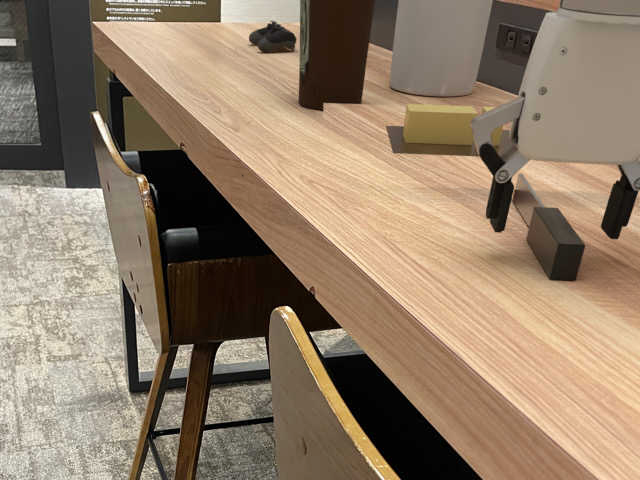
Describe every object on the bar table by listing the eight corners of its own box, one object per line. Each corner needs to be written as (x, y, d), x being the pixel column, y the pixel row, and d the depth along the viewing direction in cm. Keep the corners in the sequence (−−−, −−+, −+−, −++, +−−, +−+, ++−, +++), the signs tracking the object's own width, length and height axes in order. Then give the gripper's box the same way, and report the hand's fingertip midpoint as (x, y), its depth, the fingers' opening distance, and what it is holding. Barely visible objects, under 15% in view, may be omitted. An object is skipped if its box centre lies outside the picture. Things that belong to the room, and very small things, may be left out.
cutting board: (524, 143, 106) (526, 130, 105) (547, 172, 95) (550, 158, 94) (384, 137, 107) (385, 125, 106) (391, 166, 96) (393, 152, 95)
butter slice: (493, 138, 101) (499, 107, 99) (499, 146, 98) (505, 114, 96) (477, 137, 101) (483, 106, 99) (482, 145, 98) (488, 113, 96)
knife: (576, 281, 69) (586, 245, 67) (549, 279, 69) (558, 243, 67) (524, 202, 86) (531, 171, 84) (503, 201, 86) (509, 170, 84)
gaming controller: (246, 41, 168) (252, 13, 165) (281, 51, 170) (287, 23, 167) (257, 51, 159) (264, 21, 156) (294, 61, 161) (301, 32, 158)
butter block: (467, 137, 101) (473, 106, 99) (472, 145, 98) (478, 113, 96) (402, 135, 102) (406, 103, 100) (405, 142, 99) (409, 110, 97)
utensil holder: (487, 85, 137) (510, -43, 126) (467, 101, 126) (491, -37, 115) (401, 77, 141) (417, -47, 130) (375, 92, 131) (390, -42, 120)
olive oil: (364, 98, 127) (384, -107, 111) (366, 113, 118) (388, -107, 103) (295, 95, 127) (306, -109, 112) (292, 110, 119) (304, -108, 103)
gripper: (715, -4, 63) (640, 223, 74) (488, -15, 64) (446, 212, 74) (756, 7, 57) (668, 252, 68) (505, -5, 58) (457, 239, 68)
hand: (552, 230), depth 71 cm, fingers open, 9 cm apart
